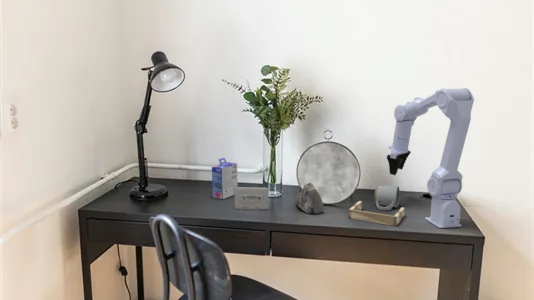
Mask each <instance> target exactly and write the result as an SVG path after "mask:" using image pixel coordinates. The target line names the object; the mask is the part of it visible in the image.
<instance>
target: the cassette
mask: <svg viewBox="0 0 534 300" xmlns="http://www.w3.org/2000/svg"><path fill="white" fill-rule="evenodd" d="M269 192H270V191H269V188H268V187H244V186H243V187H241V186H240V187H239V186H238V187H236V188H235V195H234V209H235V210H237V209H238V210H269ZM249 197H255V198H249ZM258 197H259V198H258Z"/></svg>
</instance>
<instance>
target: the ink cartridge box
mask: <svg viewBox="0 0 534 300" xmlns="http://www.w3.org/2000/svg"><path fill="white" fill-rule="evenodd" d="M218 161H219V164H217V165H213V166H211V179H212V180H211V181H212V185H211V186H212V198H215V199H220V200H224V199H227V198H229V197H232V196H235V188H236V187H239V186H238V163H237V162H236V163H235V162H230V161H226V158H225V157H222V158H218Z"/></svg>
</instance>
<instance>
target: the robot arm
mask: <svg viewBox="0 0 534 300" xmlns="http://www.w3.org/2000/svg"><path fill="white" fill-rule="evenodd" d="M474 101H475V98H474V95H473V94H472V92H471V90H470V89H469V88H466V87H464V88H440V89H437V90H435V92H434V93H432V94H431V95H428V96H427V97H426V98H423V97H414V99H413V100H412V101H407V102H406V103H405V104H404V105H402V104H398V105H397V106H396V107H395V108H394V110H393V116H394V119H395V120H396V121H395V127H394V133H393V140H392V145H389V146H388V149H390V150H391V152H390V154H387V155H386V160H387V162H388V170H389V175H392V176H396V175H397V173H398V171H399V170H403V168H404V166H405V163H406V161H407V159H408V158H409V156H410V154H411V153H412V151H410V150H409V144H410V140H411V133H412V128H413V126H414V124H415V121H416V119H417V118H418V117H420V116H422V115H425V114H427V113H428V112H429V109H430V108H433V107H436V106H437V107H438V108H439V110H440V111H441V112H442V113H443V114H444V116H445V117H446V118H448V119H449V120H450V123H449V128H448V130H447V134H446V135H447V136H446V140H445V143H444V147H443V151H442V156H441V160H440V163H439V166H438V167H437V168H436V169H434V170H433V171H432V173H431V176H430V177H429V179H428V180H427V185H426V188H427V192H428V193H429V196H431V206H430V216H429V217H427V216H426V217H425V218H424V220H426V221H427V222H429V223H431V224H432V225H434V226H435V227H438V228H440V229H444V228H460V227H462V225H463V224H461V223H460V221H461V211H462V209H461V205H460V204H459V203H458V202H457V200H456V198H458V195H459V194H460V193H461V191H462V190H463V189H462V188H463V182H462V181H463V174H462V173H461V172H460V171H459V170H458V169H459V167H460V166H459V165H460V162H461V161H460V160H461V157H462V155H463V154H462V153H463V150H464V146H465V142H466V139H467V135H468V131H469V128H470V124H471V120H472V119H471V118H472V110H473V105H474Z"/></svg>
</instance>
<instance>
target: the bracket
mask: <svg viewBox="0 0 534 300" xmlns="http://www.w3.org/2000/svg"><path fill="white" fill-rule="evenodd" d="M362 209H363V200H359V201H357V202H356V203H354V205H353V206H351V207H350V208H349V209H348V215H347V216H348V217H347V218H348V219H350V220H355V221H356V220H358V221H363V222H370V223H374V224H381V225H388V226H392V227H397V226H398V225H399V223H400V222H401V221H402V219H403V218H404V217H405V207H403V206H402V207H400V209H399V210H398V211H397V212H396V213H395V214H394V215H391V214H385V213H379V212H372V211H366V210H362Z"/></svg>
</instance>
